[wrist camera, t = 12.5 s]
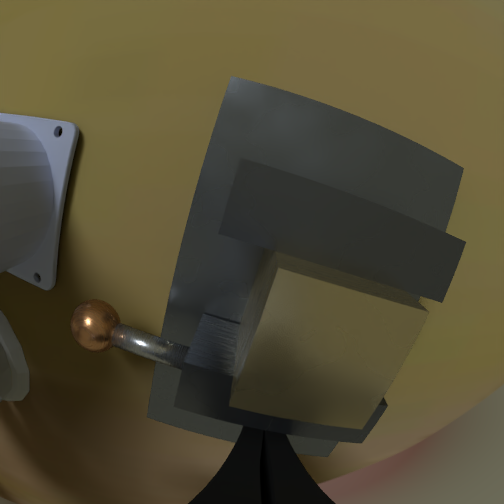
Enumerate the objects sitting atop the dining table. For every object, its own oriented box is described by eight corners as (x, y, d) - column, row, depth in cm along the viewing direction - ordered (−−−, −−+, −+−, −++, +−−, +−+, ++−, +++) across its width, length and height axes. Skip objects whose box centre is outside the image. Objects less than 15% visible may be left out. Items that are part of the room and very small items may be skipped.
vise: (152, 405, 15) (126, 465, 11) (233, 83, 11) (219, 38, 7) (324, 444, 15) (336, 505, 11) (451, 167, 12) (518, 171, 7)
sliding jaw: (93, 318, 13) (53, 357, 9) (97, 277, 12) (52, 310, 9) (343, 390, 13) (361, 443, 10) (362, 355, 13) (388, 405, 9)
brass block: (240, 323, 12) (229, 405, 8) (271, 228, 12) (278, 267, 7) (332, 347, 13) (361, 429, 8) (369, 259, 12) (429, 312, 7)
